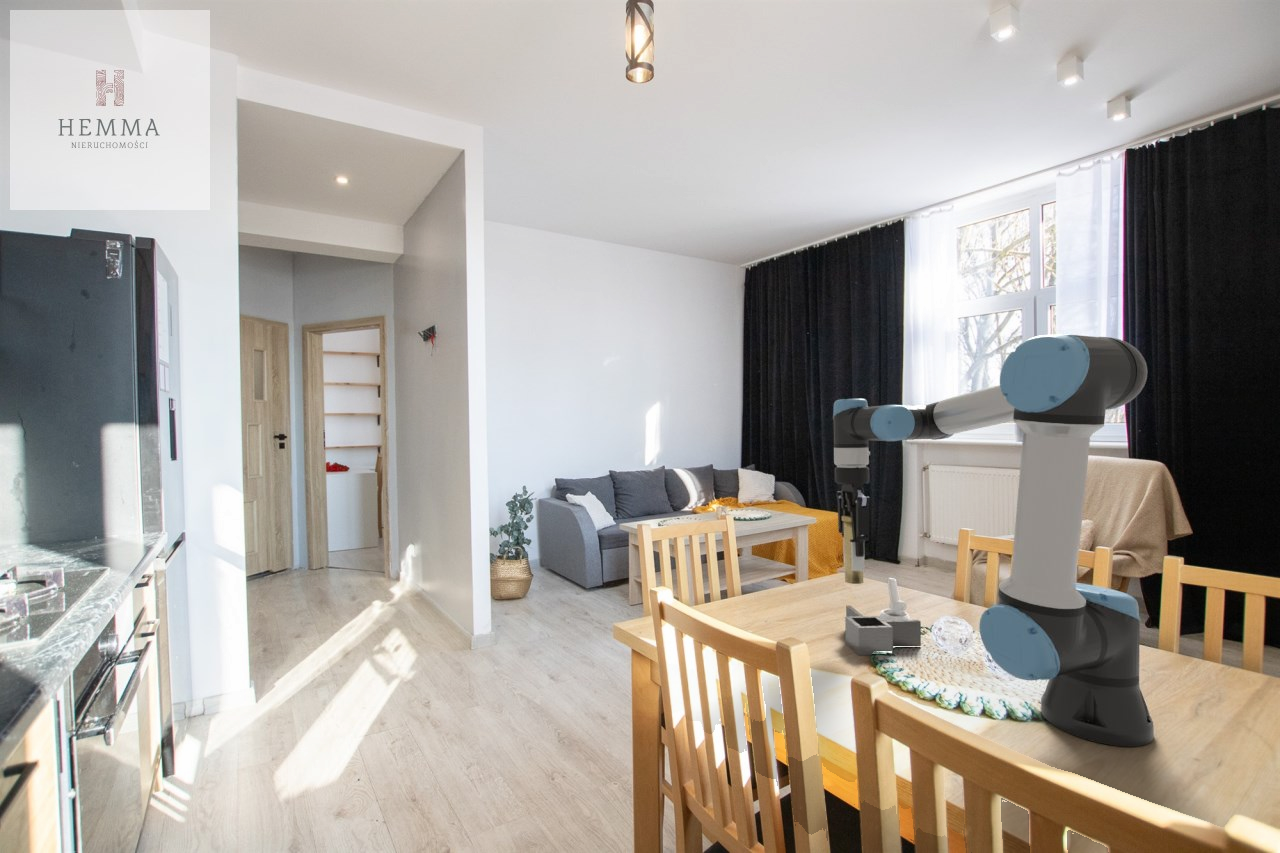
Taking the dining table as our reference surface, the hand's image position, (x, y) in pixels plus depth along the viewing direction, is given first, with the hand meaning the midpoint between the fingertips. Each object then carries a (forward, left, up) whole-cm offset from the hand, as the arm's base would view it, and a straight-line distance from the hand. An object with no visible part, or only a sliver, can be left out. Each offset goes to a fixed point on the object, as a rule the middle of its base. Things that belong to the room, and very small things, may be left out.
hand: (854, 567), depth 137 cm
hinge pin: (0, 0, -3) cm, 3 cm away
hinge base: (+2, -6, -18) cm, 19 cm away
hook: (+17, -17, -18) cm, 30 cm away
